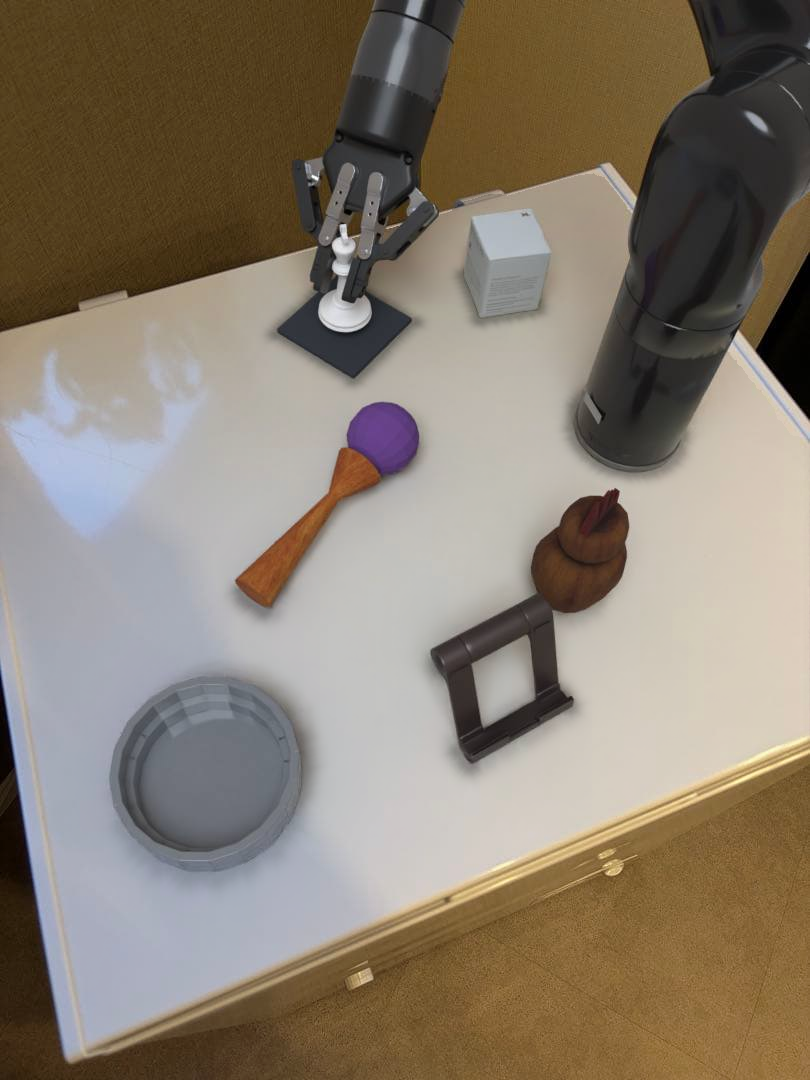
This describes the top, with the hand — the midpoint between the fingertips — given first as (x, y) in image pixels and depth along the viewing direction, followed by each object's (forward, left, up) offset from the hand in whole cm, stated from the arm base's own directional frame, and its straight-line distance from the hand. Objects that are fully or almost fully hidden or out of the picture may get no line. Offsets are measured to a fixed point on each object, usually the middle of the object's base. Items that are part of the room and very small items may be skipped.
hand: (334, 296), depth 78 cm
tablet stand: (+20, +31, -6) cm, 37 cm away
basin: (+37, +19, -6) cm, 42 cm away
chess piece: (-2, -1, -4) cm, 5 cm away
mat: (-2, 0, -6) cm, 6 cm away
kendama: (+15, +12, -6) cm, 20 cm away
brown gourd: (+9, +31, -6) cm, 32 cm away
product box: (-15, +9, -6) cm, 18 cm away
